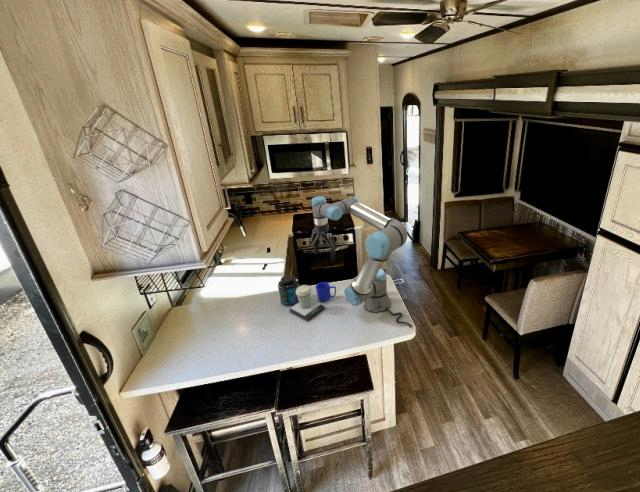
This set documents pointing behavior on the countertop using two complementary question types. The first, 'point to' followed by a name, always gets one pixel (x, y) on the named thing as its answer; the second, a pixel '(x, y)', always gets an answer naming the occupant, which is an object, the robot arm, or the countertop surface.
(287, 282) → the container
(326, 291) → the mug
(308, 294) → the coffee cup
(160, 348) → the countertop surface
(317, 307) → the scale
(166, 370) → the countertop surface
